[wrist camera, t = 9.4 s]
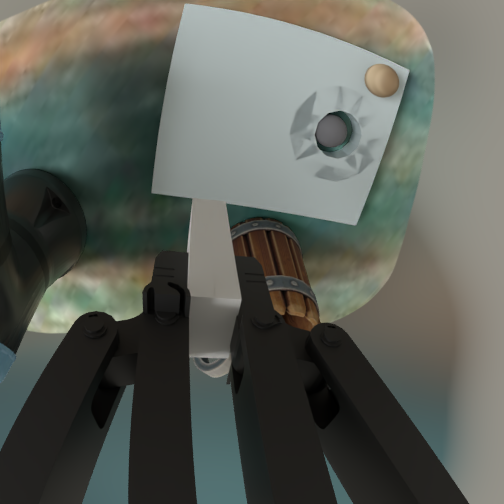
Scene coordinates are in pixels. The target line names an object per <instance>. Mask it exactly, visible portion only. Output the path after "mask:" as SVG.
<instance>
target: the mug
mask: <svg viewBox="0 0 504 504" xmlns="http://www.w3.org/2000/svg"><path fill="white" fill-rule="evenodd" d="M230 232H231V239H232V245H233V251H234V255H235V256H247V257H255V258H256V259H257V260H258V262H259V263H260V264H261V265H262V268H263V271H264V276H265V278H266V283H267V285H268V289H269V293H270V296H271V300H272V303H273V307H274V310H276V311H277V312H278V313H279V314H281V315H282V317H283V319H284V320H285V323H287V324H288V325H290V326H293V327H296V328H300V329H303V330H307V331H311V330H312V328H313V327H314V326H315V325H317V324H319V323H320V319H319V316H320V315H319V308H318V304H317V301H316V297H315V294H314V293H313V291H312V289H311V287H310V283H309V280H308V276H307V273H306V269H305V266H304V263H303V256H302V251H301V247H300V244H299V241H298V239H297V238H296V236H295V234H294V233H293V232H292V231H291V230H290V229H289V228H288V227H287V226H284V225H283V224H282V222H279V221H277V220H274V219H270V218H266V219H263V218H252V219H248V220H245V221H244V222H241V223H238V224H236V225H235V226H233V227H232V228H231V229H230ZM193 361H194V364H195V365H196V367H197V368H198V369H199V370H201V371H202V372H204V373H206V374H207V375H209V376H211V377H215V378H216V377H221V376H223V375H225V374H227V373H228V372H229V369H230V365H231V361H232V360H231V352H230V353H229V357H228V358H219V359H217V360H216V361H215V362H212V363H209V360H208V358H201V357H193Z"/></svg>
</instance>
